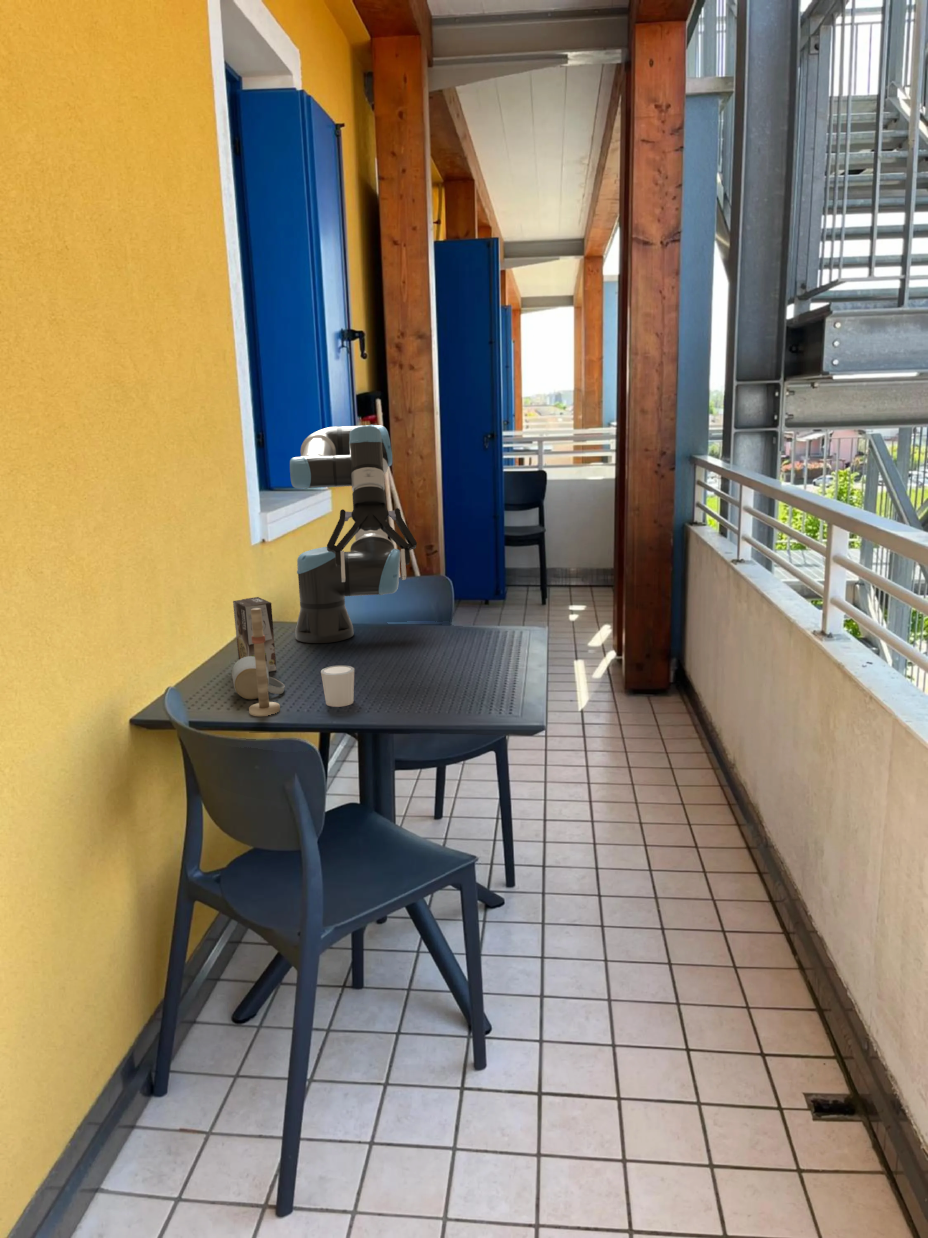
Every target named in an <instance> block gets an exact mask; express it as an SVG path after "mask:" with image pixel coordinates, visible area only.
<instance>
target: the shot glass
mask: <svg viewBox="0 0 928 1238" xmlns="http://www.w3.org/2000/svg"><path fill="white" fill-rule="evenodd" d="M320 675H321V680H322V686H323V693H324V699H325V704H326V705H327V706H329V707H334V708H338V707H346V706H349V705H352V704H354V694H355V693H354V692H355V689H354V688H355V667H353V666H351V665H332V666H327V667H325V668H322V669H321V670H320Z"/></svg>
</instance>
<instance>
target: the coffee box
mask: <svg viewBox="0 0 928 1238" xmlns="http://www.w3.org/2000/svg"><path fill="white" fill-rule="evenodd" d="M232 603H233V604H232V606H233V616H234V625H235V626H234V627H235V636H236V643H237V644H236V645H237V646H236V647H237V656H238V660H240V659H241V658H244V657H248V656H253V657H255V653H254V643H252V636H253V630H252V618H251V609H254V608H261V612H262V624H263V635H265V641H266V642H264V648H265V660H266V666H267V668H268V672H275V671H277V660H276V647H275V637H274V636H275V634H274V622H273V620H274V619H273V608H272V602H271V601H268V600H266V599H263V598H261V597H259V596H255V597H254V596H253V597H248V598H244V599H243V598H242V599H238V600H233V601H232Z"/></svg>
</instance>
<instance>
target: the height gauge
mask: <svg viewBox="0 0 928 1238" xmlns="http://www.w3.org/2000/svg"><path fill="white" fill-rule="evenodd" d="M251 618H252V630H253V636H252V643H254V653H255V664H256V675H257V687H258V698H257V699H258V702H257V703H254V704H251V705H250V706H249V707H248V710H249V711H248V712H249V715H251V716H253V717H268V715H270V716H272V715H271V714H274V715H276V714H278V713H279V712H280V710H281V708H280V707H281V705H280V704H279V703H278V702H275V701H274V702H273V701H270V699H269V698H270V697H269V692H268V683H267V671H266V660H265V648H264V642H266V641H265V635H263V624H262V612H261V608H254V609H251ZM277 712H278V713H277ZM275 713H276V714H275Z"/></svg>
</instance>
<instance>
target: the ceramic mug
mask: <svg viewBox="0 0 928 1238" xmlns="http://www.w3.org/2000/svg"><path fill="white" fill-rule="evenodd" d="M266 671H267V683H268V693H270V694H275V695H282V694H283V693H284V691H285V688H286V686H285V683H283V682H282V681H280V680H278V679H276V678H274V677H272V676H270V675H269V672H268V668H267V666H266ZM231 675H232V676H231V677H232V678H231V679H232V682H233V687H234V690H235V692H236V693H237V695H239V696H240V697H242V698H243V699H245V700H256V699H259V698H258V687H257V675H256V664H255V657H253V656H248V657H244V658H241V659H240V660H239V659H238V660H237V661H236V662H235V664H234V665H233V667H232V669H231Z"/></svg>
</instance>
